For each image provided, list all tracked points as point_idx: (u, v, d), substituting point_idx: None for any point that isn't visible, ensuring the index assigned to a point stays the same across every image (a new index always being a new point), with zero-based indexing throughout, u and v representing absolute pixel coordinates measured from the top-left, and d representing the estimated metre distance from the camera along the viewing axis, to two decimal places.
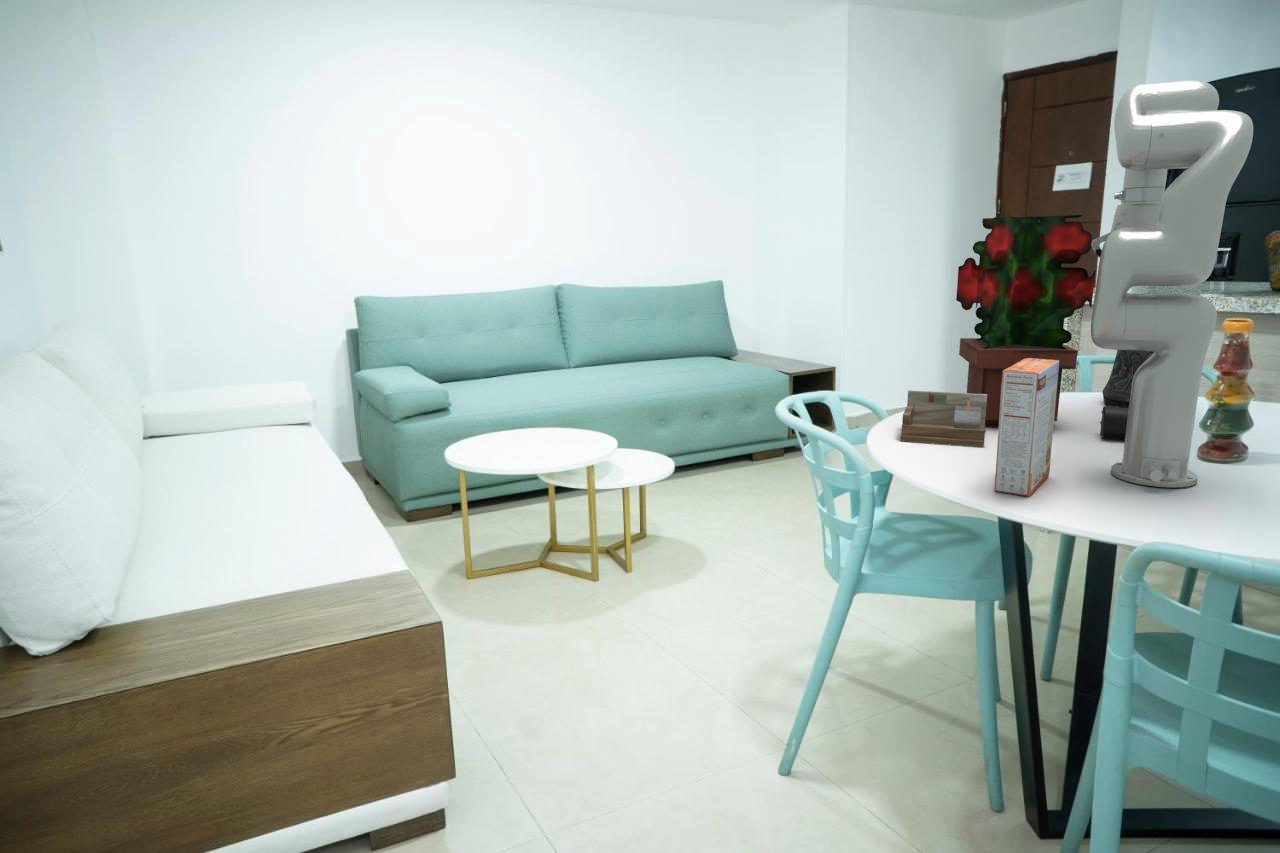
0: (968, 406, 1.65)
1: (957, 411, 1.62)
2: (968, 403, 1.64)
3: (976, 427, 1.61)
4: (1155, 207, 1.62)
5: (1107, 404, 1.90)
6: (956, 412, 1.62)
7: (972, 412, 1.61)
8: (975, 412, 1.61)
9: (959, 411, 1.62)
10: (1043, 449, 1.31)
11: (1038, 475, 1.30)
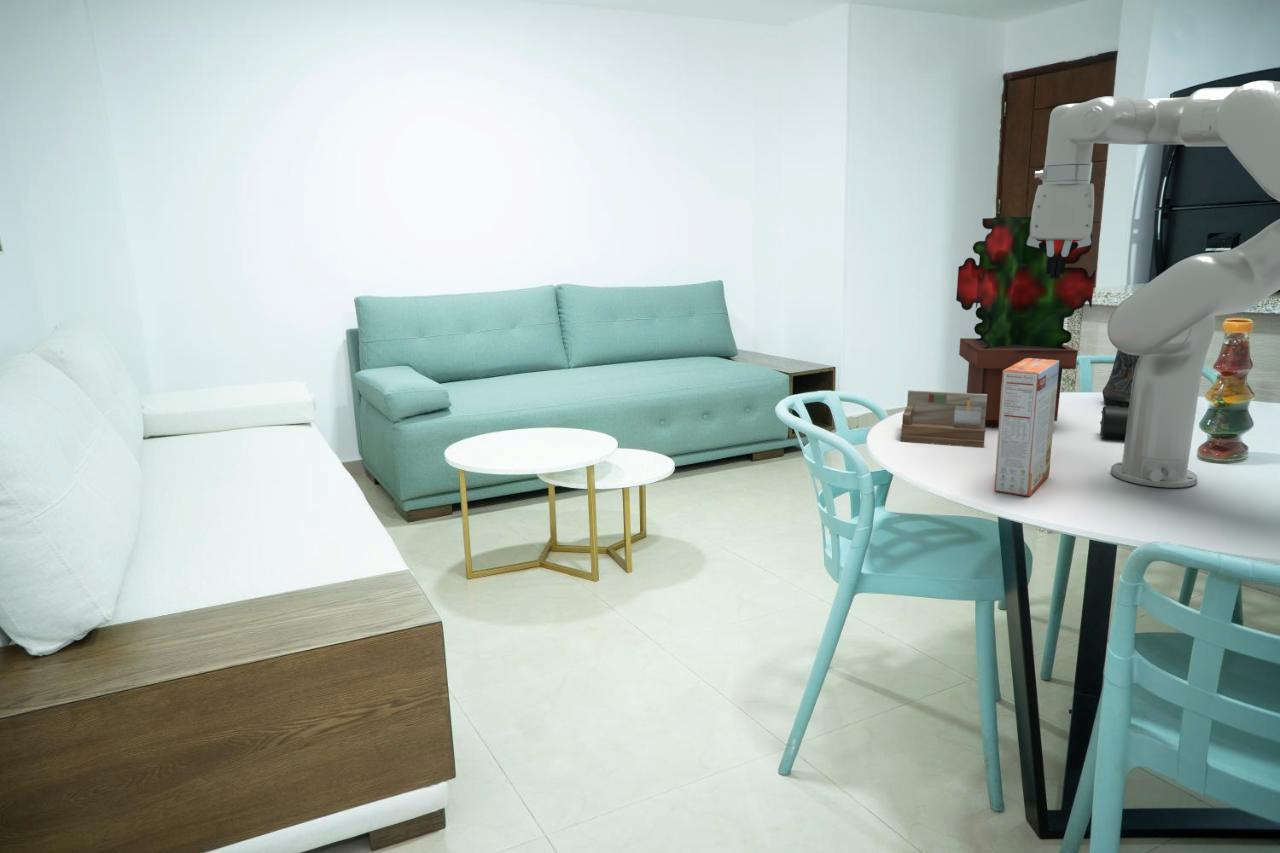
0: (968, 406, 1.65)
1: (957, 411, 1.62)
2: (968, 403, 1.64)
3: (976, 427, 1.61)
4: (1079, 187, 1.41)
5: (1107, 404, 1.90)
6: (956, 412, 1.62)
7: (972, 412, 1.61)
8: (975, 412, 1.61)
9: (959, 411, 1.62)
10: (1043, 449, 1.31)
11: (1038, 475, 1.30)
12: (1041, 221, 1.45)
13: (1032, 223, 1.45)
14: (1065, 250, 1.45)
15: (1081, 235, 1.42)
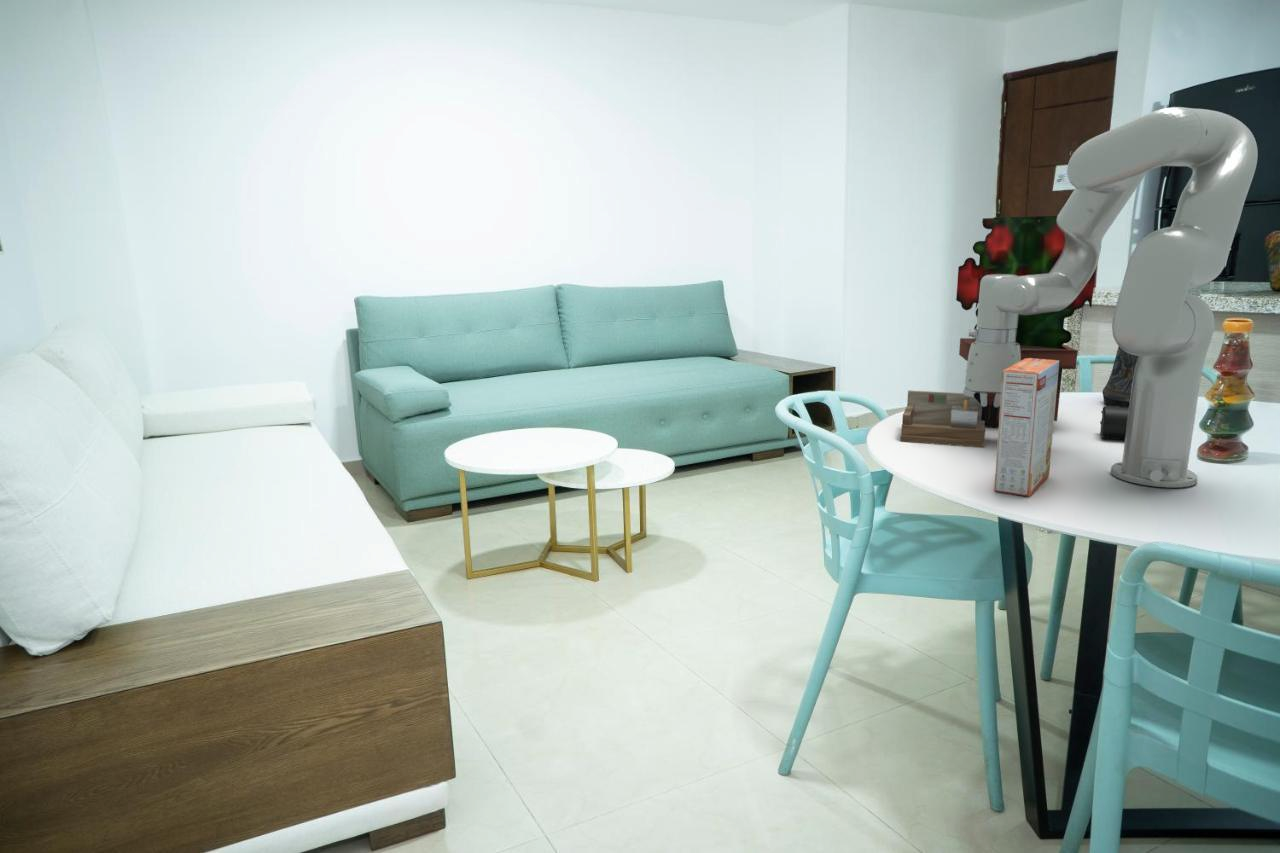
0: (965, 406, 1.65)
1: (954, 411, 1.62)
2: (965, 403, 1.65)
3: (973, 427, 1.62)
4: (1007, 349, 1.56)
5: (1107, 404, 1.90)
6: (953, 412, 1.62)
7: (969, 412, 1.61)
8: (972, 412, 1.61)
9: (956, 411, 1.62)
10: (1043, 449, 1.31)
11: (1038, 475, 1.30)
12: (974, 376, 1.59)
13: (966, 377, 1.60)
14: (997, 401, 1.60)
15: None
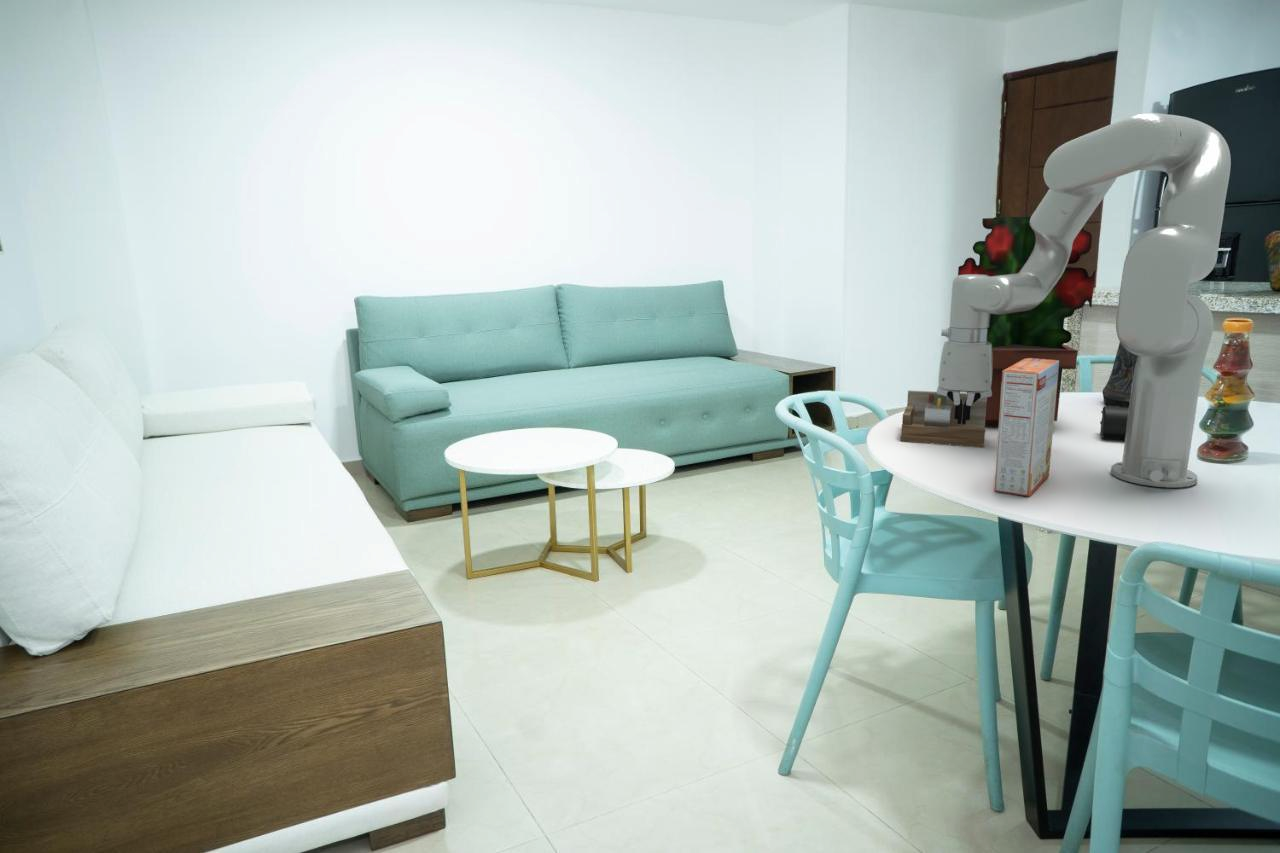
0: (938, 404, 1.67)
1: (927, 409, 1.64)
2: (938, 401, 1.67)
3: (946, 425, 1.64)
4: (979, 348, 1.58)
5: (1107, 404, 1.90)
6: (927, 410, 1.64)
7: (942, 410, 1.63)
8: (945, 410, 1.63)
9: (929, 409, 1.64)
10: (1043, 449, 1.31)
11: (1038, 475, 1.30)
12: (947, 375, 1.61)
13: (939, 376, 1.62)
14: (969, 400, 1.62)
15: (982, 389, 1.59)
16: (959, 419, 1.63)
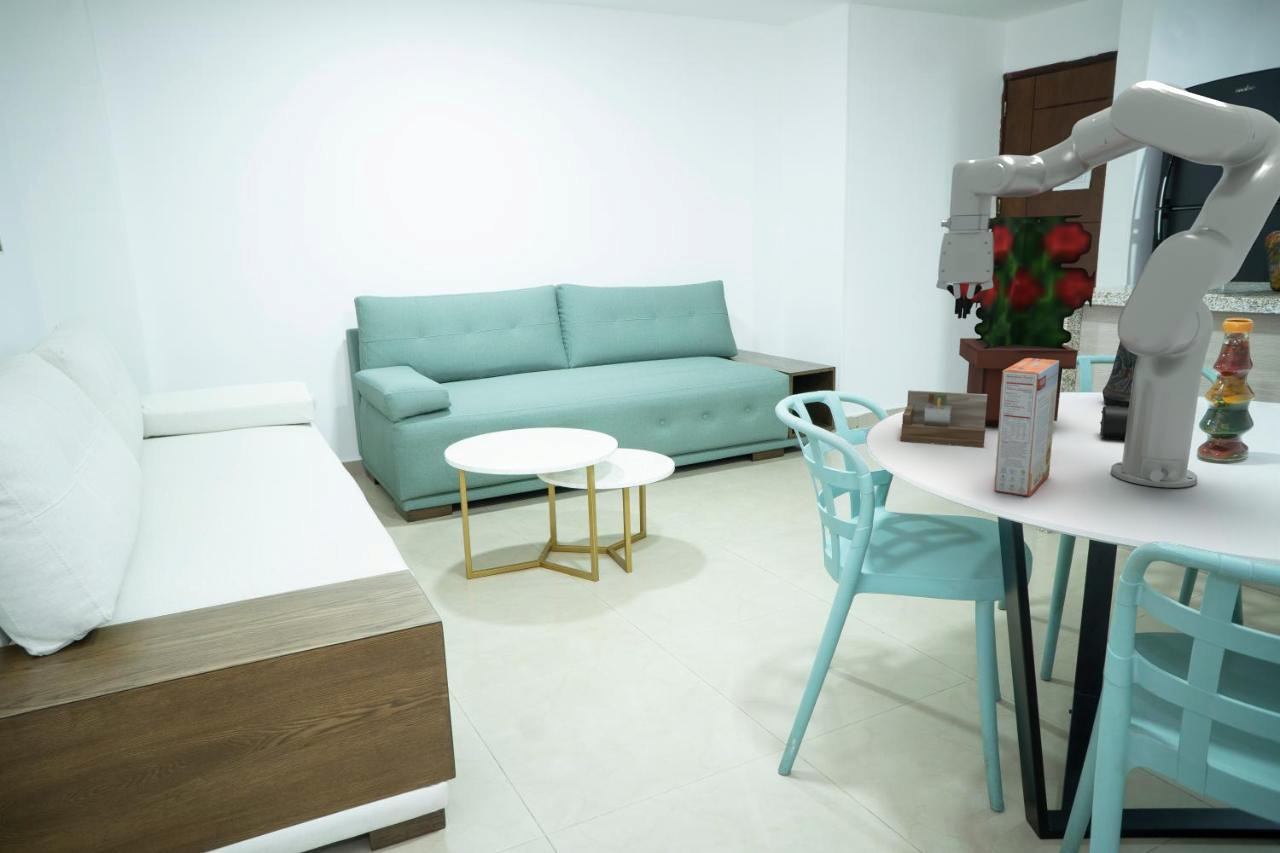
0: (938, 404, 1.67)
1: (927, 409, 1.64)
2: (938, 401, 1.67)
3: (946, 425, 1.64)
4: (979, 236, 1.53)
5: (1107, 404, 1.90)
6: (926, 410, 1.64)
7: (942, 410, 1.63)
8: (945, 410, 1.63)
9: (929, 409, 1.64)
10: (1043, 449, 1.31)
11: (1038, 475, 1.30)
12: (947, 266, 1.56)
13: (939, 268, 1.57)
14: (970, 293, 1.57)
15: (983, 279, 1.54)
16: (959, 313, 1.59)
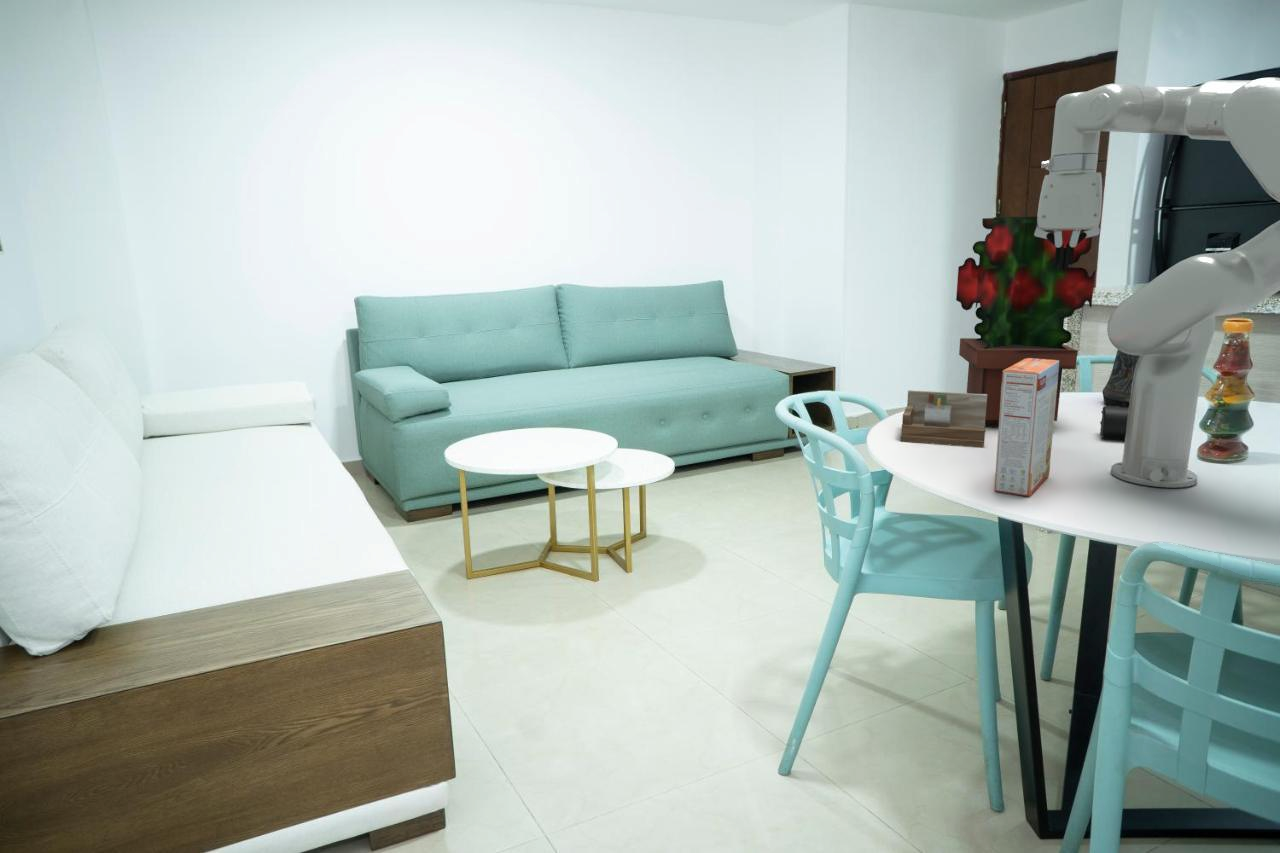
0: (938, 404, 1.67)
1: (927, 409, 1.64)
2: (938, 401, 1.67)
3: (946, 425, 1.64)
4: (1087, 177, 1.40)
5: (1107, 404, 1.90)
6: (926, 410, 1.64)
7: (942, 410, 1.63)
8: (945, 410, 1.63)
9: (929, 409, 1.64)
10: (1043, 449, 1.31)
11: (1038, 475, 1.30)
12: (1049, 211, 1.43)
13: (1039, 214, 1.44)
14: (1073, 240, 1.44)
15: (1089, 225, 1.41)
16: (1061, 263, 1.45)
